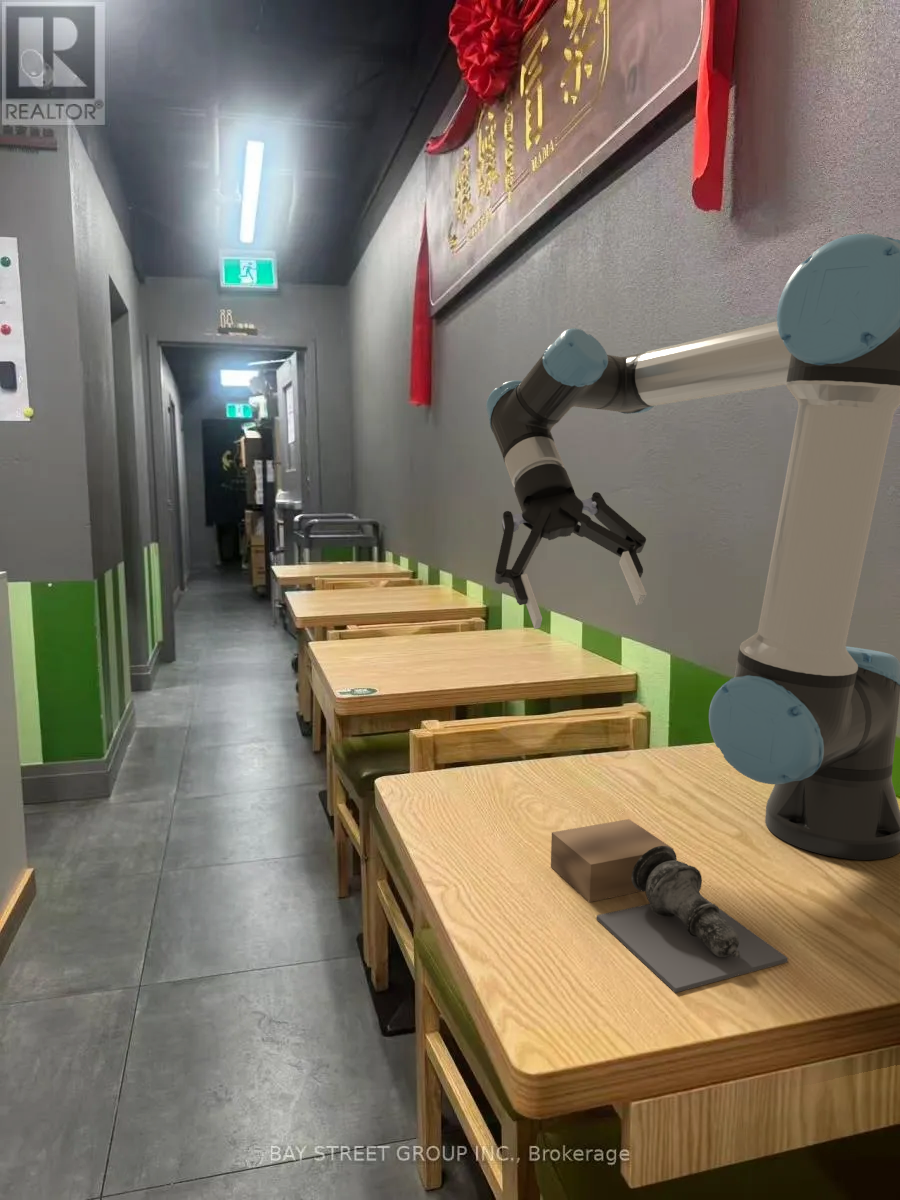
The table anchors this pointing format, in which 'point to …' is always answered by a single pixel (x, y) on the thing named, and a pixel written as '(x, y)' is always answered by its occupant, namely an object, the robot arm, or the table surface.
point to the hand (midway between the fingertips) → (590, 611)
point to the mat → (686, 948)
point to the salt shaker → (683, 899)
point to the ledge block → (601, 857)
